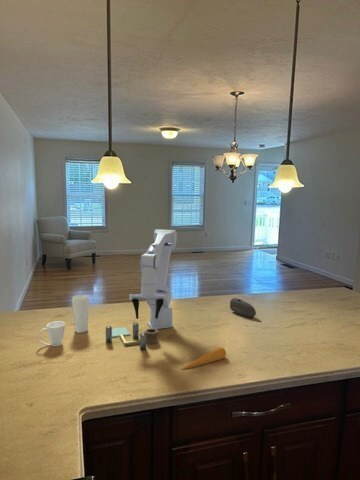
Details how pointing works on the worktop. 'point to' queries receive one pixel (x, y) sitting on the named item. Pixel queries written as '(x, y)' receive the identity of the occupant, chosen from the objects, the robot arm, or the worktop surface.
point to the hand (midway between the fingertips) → (146, 318)
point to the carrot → (208, 358)
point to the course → (135, 336)
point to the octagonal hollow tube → (151, 336)
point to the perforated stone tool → (242, 307)
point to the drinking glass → (80, 312)
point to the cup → (54, 333)
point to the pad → (120, 332)
